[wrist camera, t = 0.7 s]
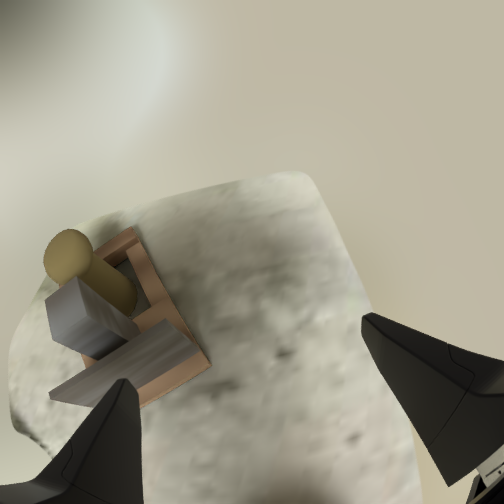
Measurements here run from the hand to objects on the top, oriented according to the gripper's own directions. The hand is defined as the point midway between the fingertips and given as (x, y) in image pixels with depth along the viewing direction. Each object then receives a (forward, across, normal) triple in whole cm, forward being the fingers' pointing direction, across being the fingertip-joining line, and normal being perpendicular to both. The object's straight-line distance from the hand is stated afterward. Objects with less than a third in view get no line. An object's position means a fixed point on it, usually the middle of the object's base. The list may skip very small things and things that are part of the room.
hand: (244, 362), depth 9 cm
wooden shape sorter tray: (+16, +13, +7) cm, 22 cm away
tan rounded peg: (+19, +14, +6) cm, 25 cm away
